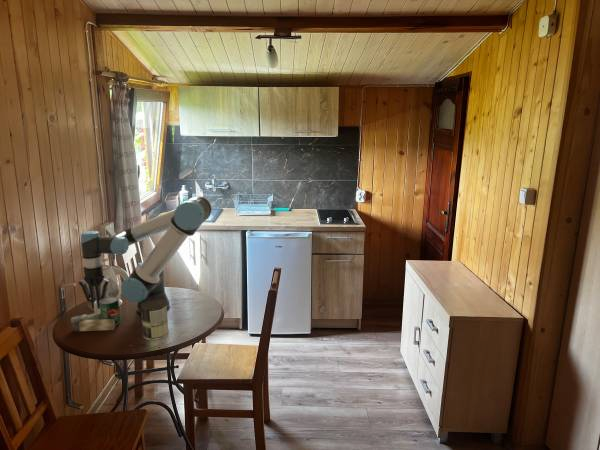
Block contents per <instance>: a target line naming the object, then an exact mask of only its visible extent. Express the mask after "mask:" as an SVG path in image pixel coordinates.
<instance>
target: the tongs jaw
mask: <svg viewBox="0 0 600 450" xmlns="http://www.w3.org/2000/svg"><path fill="white" fill-rule="evenodd" d="M99 319H101V314H100V311H98V312H95V311H94V312H93V313H90V314H85V313H84V314H82V315H75V316H73V317H70V322H71V324H72V323H77V322H80V321H81V320H99Z"/></svg>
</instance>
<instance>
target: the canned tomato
mask: <svg viewBox="0 0 600 450" xmlns="http://www.w3.org/2000/svg"><path fill="white" fill-rule="evenodd" d="M99 306H100V314H101V319H114V320H115V326H117V325H119V324H120V323H121V322H122V320H121V314H120V302H119V298H118V297H117V296H106V298H103V299H101V300H99Z"/></svg>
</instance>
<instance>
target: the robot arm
mask: <svg viewBox="0 0 600 450" xmlns="http://www.w3.org/2000/svg"><path fill="white" fill-rule="evenodd" d="M211 214H212V205H211V202H210V201H209V200H208V199H207V198H205V197H203V196H201V195H200V196H199V195H198V196H197V195H196V196H193V197H190V198H189V199H187V200H185V201H182V202H181V203H180V204H178V205H177V206H176V208H174V209H173V210H169V211H167V212H165V213H162V214H159V215H157V216H155V217H152V218H150V219H148V220H144V221H143V222H140V223H138V224H136V225H133V226H130V227H127V228H124V229H123V230H121V231H119V232H118V233H116V234H114V235H111V236H101V235H100V232H99V231H97V230H88V231H83V232H81V234H80V244H81V246H80V247H81V253H82V255H81V256H82V265H83V274H84V277H83V279H81V280H80V281H78V284H79V285H80V286H81V288H82V291H83V294H84V297H85V300H86V302H89V303H91V309H92V310H94V313H95V312H98V311H100V306H99V300H101V299H103V298H106V297H107V292H108V287H109V286H108V285H109V284H110V282H111V280H110V279H107V278H105V275H104V270H103V269H104V268H103V265H102V264H103V261H102V255H103V254H104V255H106V254H107V255H124V254H126V253H128V250H129V246H131V245H133V244H136V243H138V242H141V241H144V240H147V239H149V238H151V237H154V236H156V235H158V234H161V233H163V232H164V234H163V235H162V237H161V238H160V240H158V242H157V243H156V244H155V246H154V248H153V249H152V250H151V252H150V253H149V254H148V255H147V257H146V259H145V260H144V261H142V262H138V263H137V264H136V266H135V268H134V269H133V270H132V271H131V273H130V275H129V276H128V277H127V278H125V279H124V280H123V282H121V285H120V292H121V294H122V296H123V297H124V299H126V300H127V301H128V302H131V303H136V312H137V313H139V314H141V306H140V305H141V303H143V302H144V301H147V300H151V299H163V300H165V301H166V302H167V304H166V307H167V310H168V309H169V308H170V300H169V297H168V295H167V293H166V290H165V276H164V274H165V273H164V270H165V268H166V266H167V265H168V264H169V262H170V261H171V260H172V259H173V257H174V256H175V254H176V253H177V252H178V250H179V249H180V248H181V246H183V244H184V242H185V241H186V240H187V238H188V237H192V236H194V234H196V232H197V231H198V230H199V228H200V227H201V226H202V224H203V223H205V221H208V220H209V218H210V216H211ZM102 283H103V286H102V290H101V285H102Z"/></svg>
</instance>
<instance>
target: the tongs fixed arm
mask: <svg viewBox="0 0 600 450" xmlns="http://www.w3.org/2000/svg"><path fill="white" fill-rule="evenodd" d="M71 324H72V331H73V332H74V331H75V332H77V331H78V332H93V331H114V330H115V328H116V325H115V320H114V319H99V320H81V321H80V322H77V323H72V322H71Z"/></svg>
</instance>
